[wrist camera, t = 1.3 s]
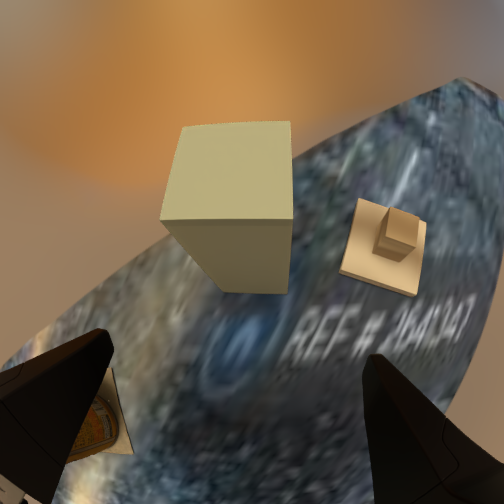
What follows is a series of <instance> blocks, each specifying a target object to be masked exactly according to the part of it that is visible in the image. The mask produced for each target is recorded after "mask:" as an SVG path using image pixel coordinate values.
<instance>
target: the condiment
mask: <svg viewBox="0 0 504 504" xmlns="http://www.w3.org/2000/svg"><path fill="white" fill-rule="evenodd" d="M108 400H109V401H108ZM98 452H107V453H118V454H133V451H132V447H131V444H130V441H129V437H128V434H127V430H126V426H125V423H124V419H123V416H122V413H121V409H120V406H119V403H118V397H117V392H116V388H115V384H114V380H113V376H112V370H111V368H107V371H106V374H105V376H104V379H103V381H102V384H101V386H100V388H99V391H98V393H97V395H96V397H95V399H94V401H93V403H92V405H91V407H90V409H89V411H88V414H87V416H86V418H85V420H84V422H83V424H82V427H81V429H80V431H79V433H78V436H77V438H76V440H75V443H74V445H73V447H72V450H71V452H70V454H69V457H68V459H67V462H66V464H68V463H70V462H73V461H77V460H79V459H83V458H85V457H88V456H90V455H95V454H96V453H98Z"/></svg>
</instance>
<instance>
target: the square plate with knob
mask: <svg viewBox="0 0 504 504" xmlns="http://www.w3.org/2000/svg"><path fill="white" fill-rule="evenodd" d="M425 232H426V222H423V221H421V220H419V217H417V216H414V215H412V214H409V213H406V212H404V211H401V210H398V209H396V208H393V207H390V208H386V207H383V206H380V205H378V204H375V203H372V202H369V201H366V200H363V199H360V198H359V199H358V201H357V203H356V207H355V212H354V216H353V220H352V224H351V228H350V232H349V236H348V240H347V244H346V248H345V252H344V255H343V259H342V263H341V266H340V270H339V273H340V274H343V275H346V276H349V277H352V278H355V279H358V280H361V281H364V282H367V283H370V284H373V285H376V286H379V287H382V288H385V289H388V290H391V291H394V292H397V293H400V294H403V295H406V296H409V297H413V296H415V295H417V290H418V284H419V278H420V272H421V265H422V258H423V250H424V242H425Z"/></svg>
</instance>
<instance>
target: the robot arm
mask: <svg viewBox="0 0 504 504" xmlns="http://www.w3.org/2000/svg"><path fill="white" fill-rule="evenodd" d="M113 353H114V346H113V343H112V341H111V338H110V335H109V332H108V331H107V330H105V329H100V328H97V329H94V330H92V331H90V332H88V333H86V334H84V335H82V336H79V337H77V338H75V339H73V340H71V341H69V342H67V343H65V344H62V345H60V346H58V347H56V348H54V349H52V350H50V351H47V352H45V353H43V354H41V355H39V356H37V357H35V358H32V359H30V360H28V361H26V362H25V363H22V364H19V365H17V366H15V367H13V368H10V369H8V370H6V371H3V372H1V373H0V504H28V502H27V500H25V499H24V496H25V494H28V495H29V496H31V497H32V498H34V499H35V500H37V501H39V502H40V503H42V504H51V503H52V500H53V497H54V494H55V491H56V488H57V486H58V483H59V480H60V478H61V475H62V472H63V470H64V467H65V464H66V462H67V459H68V457H69V454H70V452H71V450H72V447H73V445H74V443H75V440H76V438H77V436H78V433H79V431H80V429H81V427H82V424H83V422H84V420H85V418H86V416H87V414H88V411H89V409H90V407H91V405H92V403H93V401H94V399H95V397H96V395H97V393H98V391H99V388H100V386H101V384H102V381H103V379H104V376H105V374H106V371H107V368H108V366H109V363H110V361H111V358H112V355H113ZM362 384H363V401H364V419H365V426H366V433H367V439H368V447H369V454H370V462H371V470H372V480H373V490H374V502H375V504H504V464H503V463H501V462H499V461H498V460H496V459H495V458H494V457H492V456H491V455H490V454H489V453H487V452H486V451H485V450H483V449H482V448H481V447H480V446H479V445H477V444H476V443H475V442H473V441H472V440H471V439H470V438H469V437H467V436H466V435H465V434H464V433H463V432H462V431H461V430H460V429H458V428H457V427H456V426H455V425H454V424H453V423H452V422H451V421H450V420H449V419H448V418H446V416H445V415H444V414H443V413H442V412H441V411H440V410H439V409H438V408H437V407H436V406H435V405H434V404H433V403H432V402H431V401H430V400H429V399H428V398H427V397H426V396H425V395H424V394H423V393H422V392H421V391H420V390H419V389H418V388H416V387H415V386H414V385H413V384H412V383H411V382H410V381H409V380H408V379H407V378H406V377H405V376H404V375H403V374H402V373H401V372H400V371H399V370H398V369H397V368H396V367H395V366H394V365H393V364H392V363H391V362H390V361H388V360H387V359H386V358H385V357H384V356H383V355H382V354H370V355H369V356H368V358H367V361H366V364H365V367H364V370H363V373H362Z"/></svg>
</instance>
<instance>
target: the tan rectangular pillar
mask: <svg viewBox="0 0 504 504" xmlns="http://www.w3.org/2000/svg"><path fill="white" fill-rule="evenodd" d="M159 220H160V221H161V222H162V224H163V225H164V226H165V227H166V228H167V229H168V231H169V232H170V233H171V234H172V235H173V236H174V238H175V239H176V240H177V241H178V242H179V243H180V245H181V246H182V247H183V248H184V249H185V250H186V251H187V253H188V254H189V255H190V256H191V257H192V258H193V259H194V260H195V262H196V263H197V264H198V265H199V266H200V267H201V268H202V269H203V271H204V272H205V273H206V274H207V275H208V276H209V277H210V278H211V279H212V280H213V282H214V283H215V284H216V285H217V286H218V287H219V288H220V289H221V290H222V291H223V292H228V293H256V294H287V292H288V281H289V268H290V255H291V241H292V226H293V189H292V154H291V128H290V121H259V122H235V123H220V124H208V125H198V126H188V127H183V129H182V132H181V135H180V139H179V142H178V146H177V149H176V153H175V157H174V161H173V164H172V168H171V172H170V176H169V180H168V184H167V188H166V192H165V197H164V201H163V205H162V210H161V215H160V219H159Z"/></svg>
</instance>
